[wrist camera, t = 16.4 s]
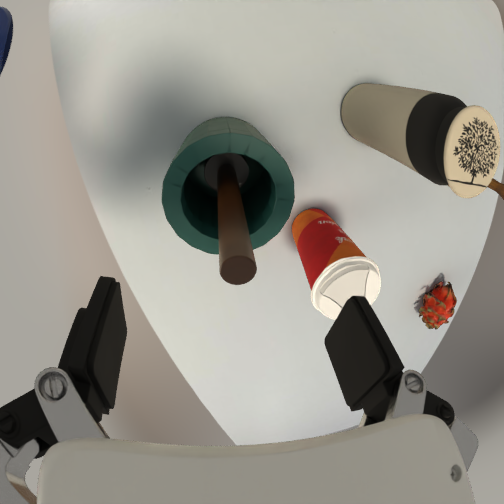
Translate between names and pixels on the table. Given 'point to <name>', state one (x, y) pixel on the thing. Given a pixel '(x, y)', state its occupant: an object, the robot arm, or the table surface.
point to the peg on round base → (231, 217)
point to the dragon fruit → (438, 306)
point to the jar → (206, 199)
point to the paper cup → (333, 263)
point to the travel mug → (426, 134)
